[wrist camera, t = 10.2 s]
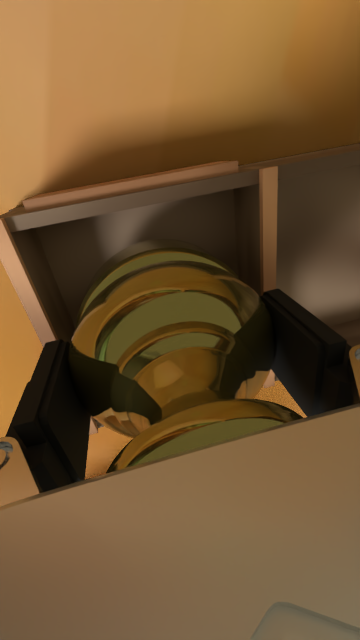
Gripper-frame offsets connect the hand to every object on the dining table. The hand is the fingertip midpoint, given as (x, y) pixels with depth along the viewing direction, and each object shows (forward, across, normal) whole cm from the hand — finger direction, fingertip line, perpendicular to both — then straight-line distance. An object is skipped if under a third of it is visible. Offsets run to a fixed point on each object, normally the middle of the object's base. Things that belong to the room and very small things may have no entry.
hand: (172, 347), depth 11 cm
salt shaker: (+3, 0, 0) cm, 3 cm away
